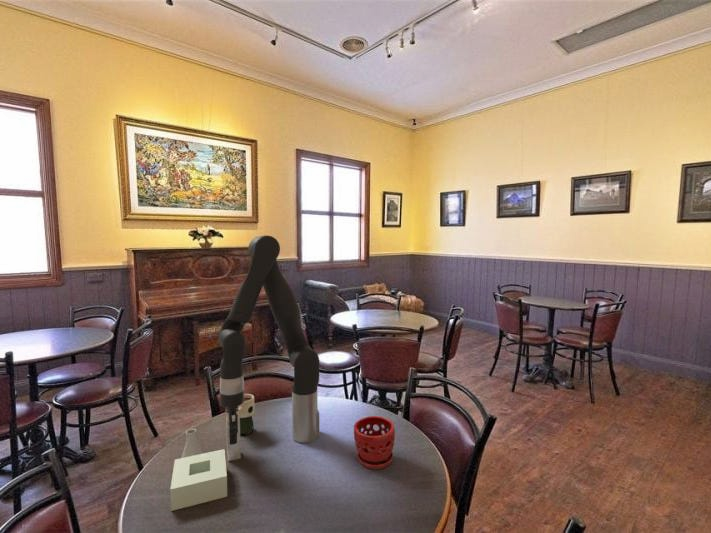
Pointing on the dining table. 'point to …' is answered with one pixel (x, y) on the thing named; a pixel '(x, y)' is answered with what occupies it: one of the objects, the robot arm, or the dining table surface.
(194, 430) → the flask
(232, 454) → the rectangular block
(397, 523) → the dining table surface
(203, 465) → the well block
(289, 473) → the dining table surface
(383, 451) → the plant pot
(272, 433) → the dining table surface
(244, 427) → the character mug
